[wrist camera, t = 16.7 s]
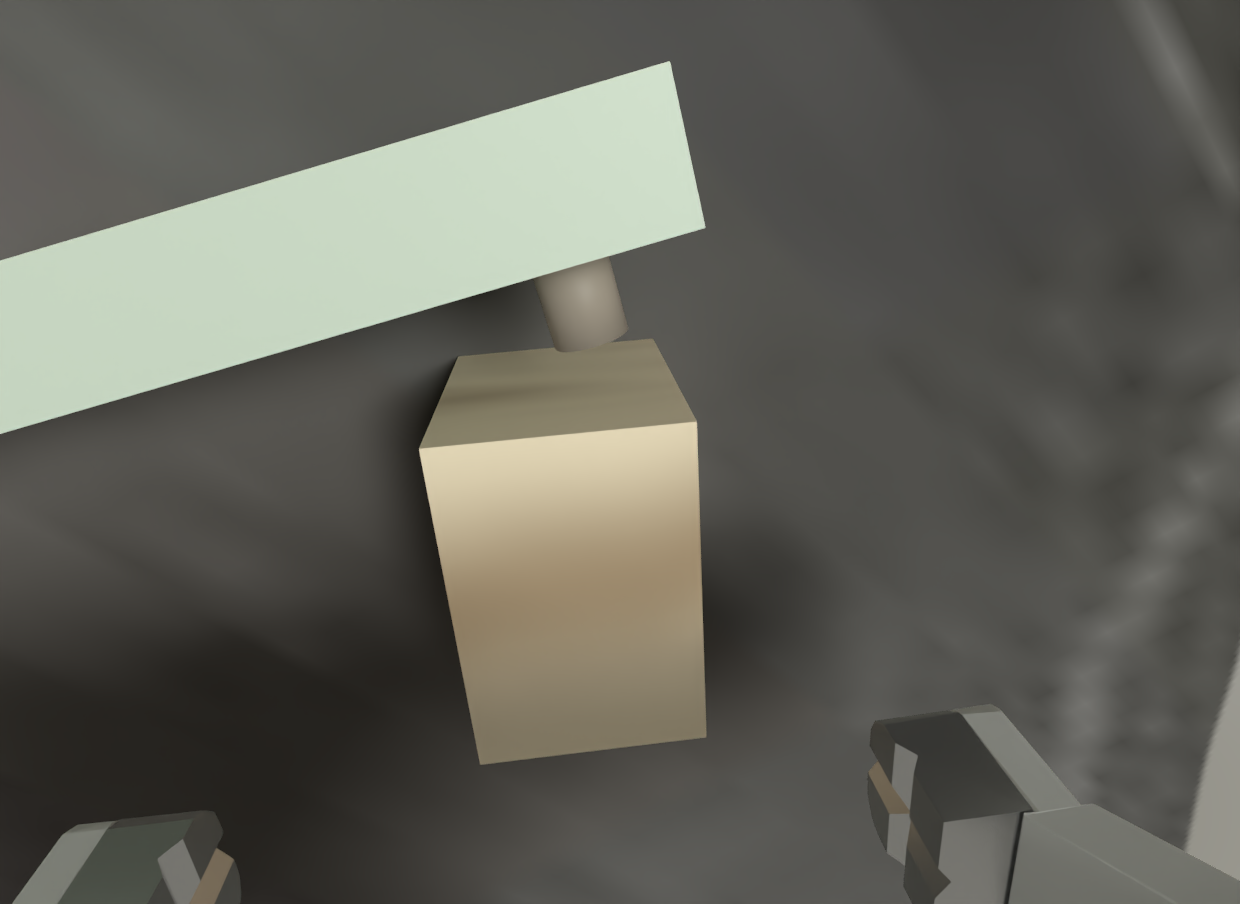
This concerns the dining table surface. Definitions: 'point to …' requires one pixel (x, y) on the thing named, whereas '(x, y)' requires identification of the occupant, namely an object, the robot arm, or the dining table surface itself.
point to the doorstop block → (570, 548)
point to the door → (356, 249)
